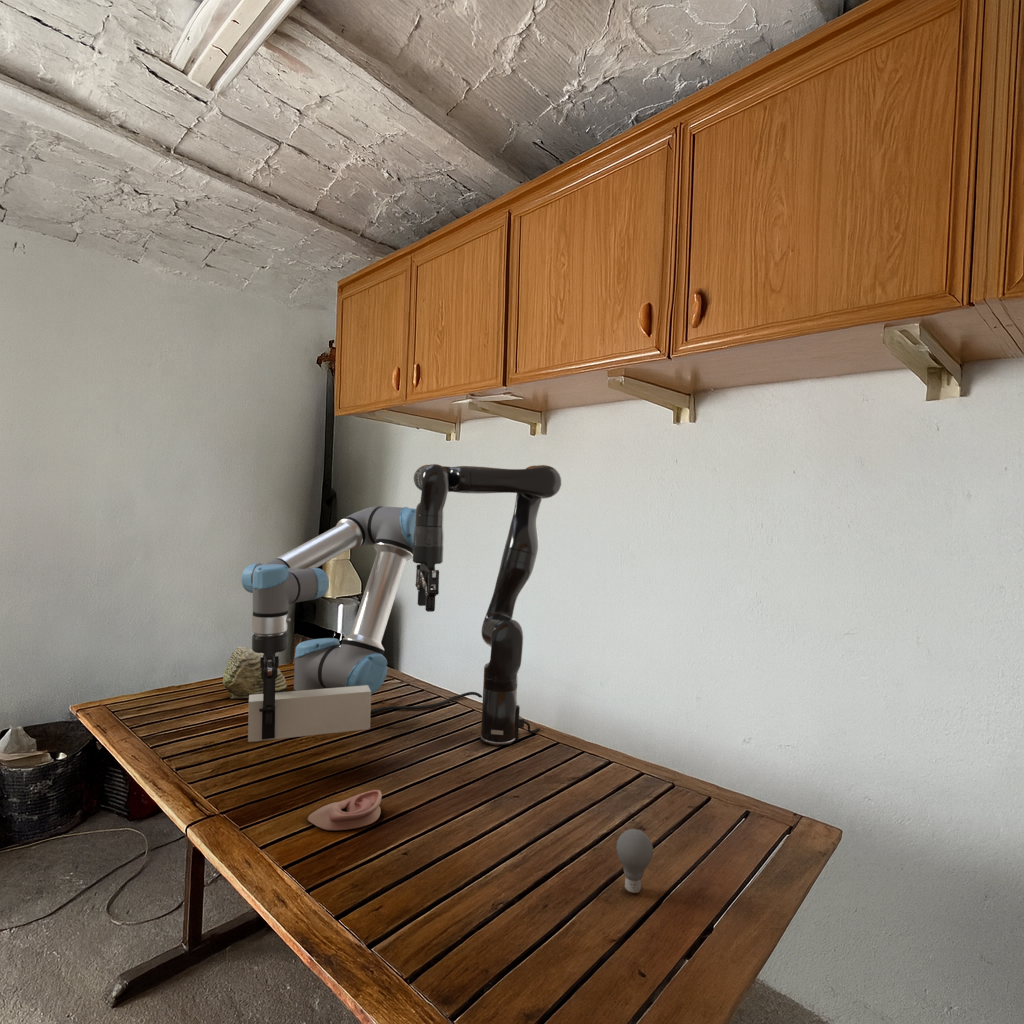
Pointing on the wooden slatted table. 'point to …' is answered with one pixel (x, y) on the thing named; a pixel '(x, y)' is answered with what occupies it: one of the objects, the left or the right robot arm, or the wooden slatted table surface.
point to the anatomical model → (349, 812)
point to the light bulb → (634, 857)
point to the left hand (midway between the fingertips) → (268, 733)
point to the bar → (313, 712)
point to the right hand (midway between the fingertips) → (425, 608)
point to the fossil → (247, 674)
